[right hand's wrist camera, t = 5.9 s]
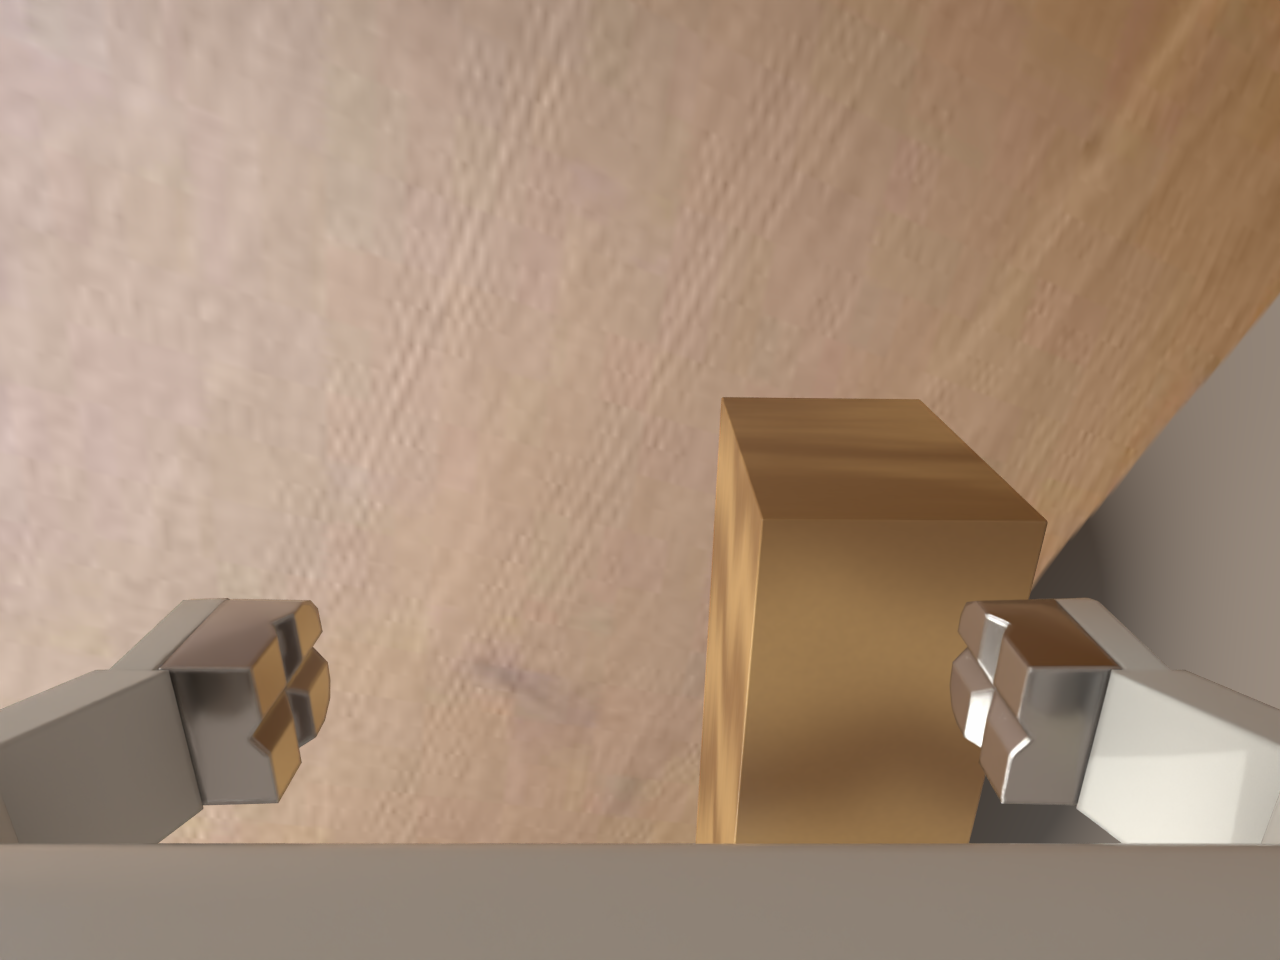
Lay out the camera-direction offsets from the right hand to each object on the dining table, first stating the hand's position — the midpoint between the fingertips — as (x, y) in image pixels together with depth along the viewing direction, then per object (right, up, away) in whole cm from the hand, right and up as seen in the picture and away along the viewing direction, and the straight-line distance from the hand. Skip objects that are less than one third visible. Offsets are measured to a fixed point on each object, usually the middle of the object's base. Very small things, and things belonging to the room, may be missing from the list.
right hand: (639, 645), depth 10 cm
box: (+6, -7, +20) cm, 22 cm away
